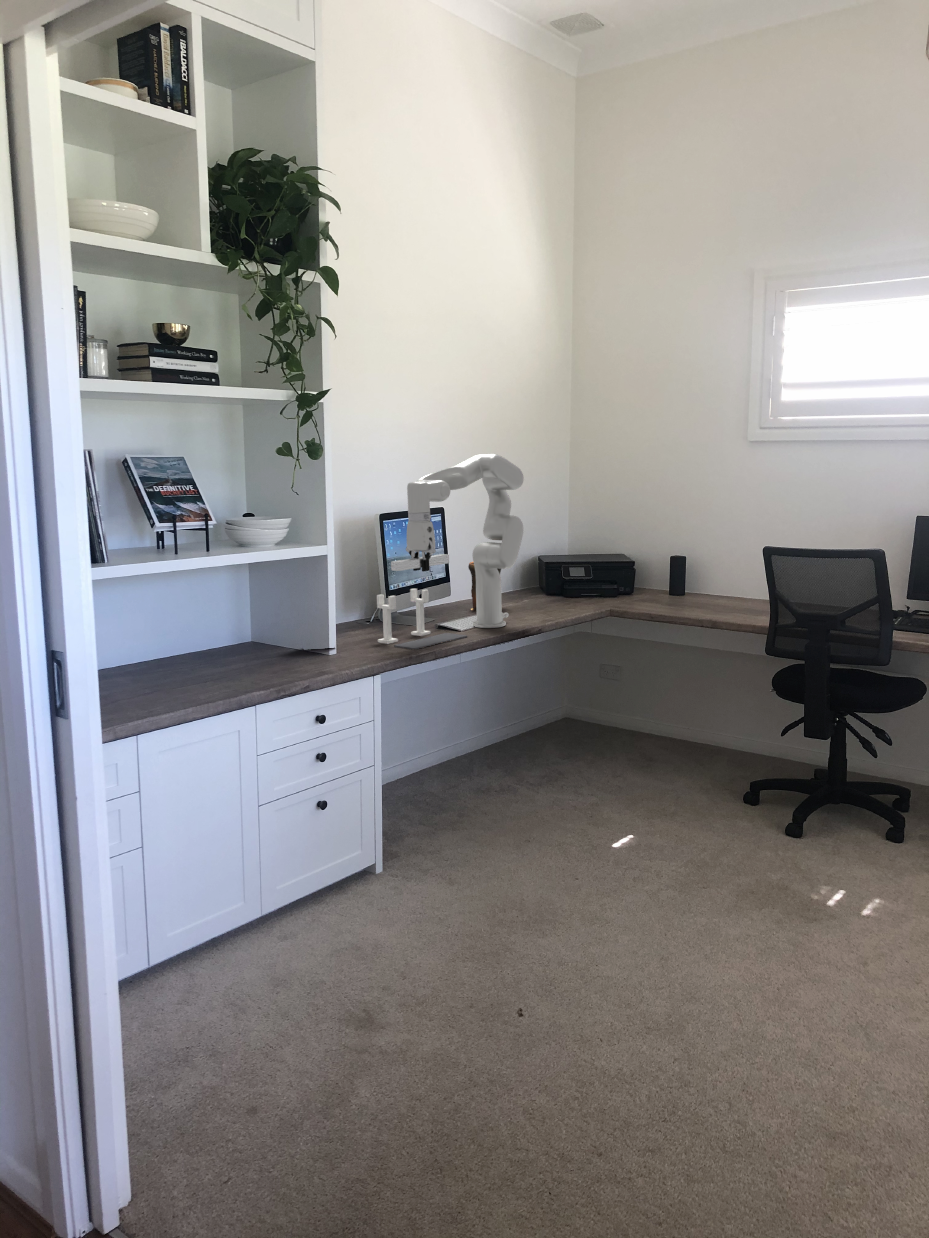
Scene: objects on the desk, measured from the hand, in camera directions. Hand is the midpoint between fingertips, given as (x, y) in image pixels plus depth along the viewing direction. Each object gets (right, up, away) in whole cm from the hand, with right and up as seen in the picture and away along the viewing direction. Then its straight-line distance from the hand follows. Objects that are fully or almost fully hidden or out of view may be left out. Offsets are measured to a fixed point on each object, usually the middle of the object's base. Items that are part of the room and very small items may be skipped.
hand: (421, 570), depth 331 cm
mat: (+4, -25, +2) cm, 25 cm away
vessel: (+24, -13, +68) cm, 74 cm away
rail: (0, +1, 0) cm, 1 cm away
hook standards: (-6, -24, +10) cm, 27 cm away
